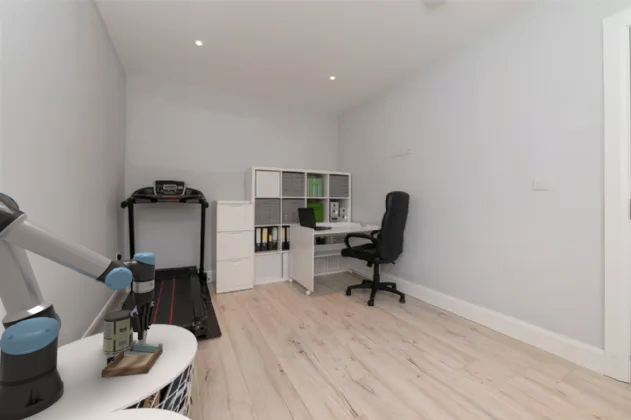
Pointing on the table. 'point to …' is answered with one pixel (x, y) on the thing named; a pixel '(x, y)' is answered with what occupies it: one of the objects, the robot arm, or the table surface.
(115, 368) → the shallow wooden tray
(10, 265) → the robot arm
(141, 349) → the gate
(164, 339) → the table surface
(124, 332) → the coffee can
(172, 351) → the table surface
